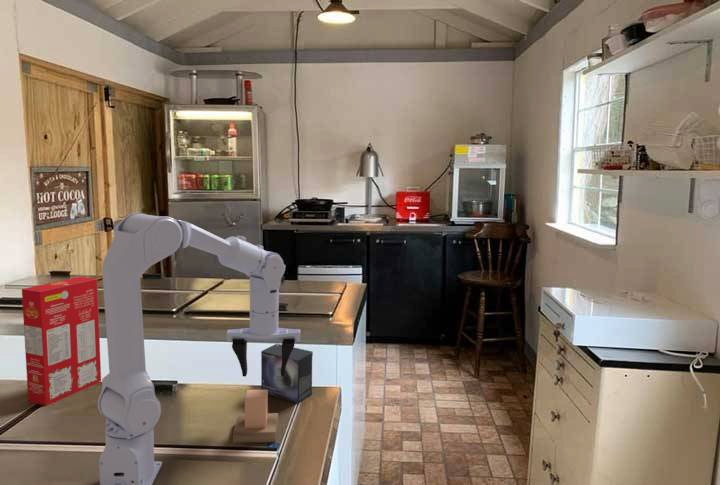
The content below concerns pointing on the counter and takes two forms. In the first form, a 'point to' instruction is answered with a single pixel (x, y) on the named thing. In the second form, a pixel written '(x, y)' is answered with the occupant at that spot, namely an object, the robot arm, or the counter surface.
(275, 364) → the small box
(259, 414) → the block
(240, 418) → the plinth
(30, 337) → the food packaging
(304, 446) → the counter surface
